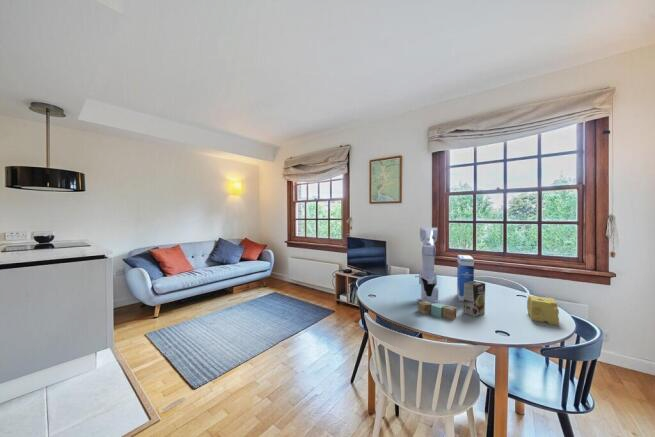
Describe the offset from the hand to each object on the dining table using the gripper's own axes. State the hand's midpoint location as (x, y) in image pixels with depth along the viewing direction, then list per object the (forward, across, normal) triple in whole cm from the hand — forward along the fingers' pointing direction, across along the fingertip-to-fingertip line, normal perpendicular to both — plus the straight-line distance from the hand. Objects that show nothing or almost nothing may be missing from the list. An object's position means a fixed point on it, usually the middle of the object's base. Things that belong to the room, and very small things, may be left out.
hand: (427, 293), depth 129 cm
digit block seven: (+10, +2, +10) cm, 15 cm away
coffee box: (+11, -6, +24) cm, 27 cm away
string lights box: (+11, -29, +25) cm, 40 cm away
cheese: (+11, -8, +54) cm, 56 cm away
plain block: (+10, 0, +5) cm, 12 cm away
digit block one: (+10, -1, -1) cm, 11 cm away
